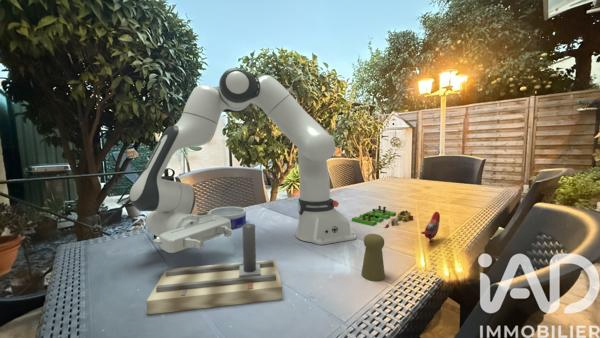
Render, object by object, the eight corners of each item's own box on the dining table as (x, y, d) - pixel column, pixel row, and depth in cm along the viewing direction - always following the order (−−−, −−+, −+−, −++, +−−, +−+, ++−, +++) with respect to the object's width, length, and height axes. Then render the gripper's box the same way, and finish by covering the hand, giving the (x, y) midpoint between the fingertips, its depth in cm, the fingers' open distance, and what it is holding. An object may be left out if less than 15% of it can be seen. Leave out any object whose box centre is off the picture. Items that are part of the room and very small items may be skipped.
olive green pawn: (358, 270, 74) (359, 231, 73) (379, 269, 75) (380, 231, 73) (365, 281, 68) (366, 239, 67) (388, 280, 69) (390, 239, 67)
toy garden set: (376, 212, 136) (376, 203, 135) (415, 219, 123) (415, 209, 122) (351, 222, 119) (351, 212, 119) (393, 232, 106) (393, 220, 106)
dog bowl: (253, 222, 118) (253, 209, 117) (226, 232, 105) (226, 217, 104) (228, 217, 126) (228, 204, 125) (201, 226, 113) (200, 212, 112)
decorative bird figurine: (441, 237, 99) (443, 211, 97) (425, 252, 86) (426, 222, 85) (433, 235, 101) (434, 209, 99) (415, 250, 88) (417, 220, 87)
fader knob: (259, 267, 69) (258, 221, 68) (260, 277, 64) (259, 228, 63) (239, 269, 68) (238, 223, 67) (239, 279, 63) (237, 229, 62)
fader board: (275, 269, 74) (275, 256, 74) (282, 299, 61) (281, 282, 60) (167, 280, 69) (166, 265, 69) (147, 314, 56) (145, 296, 55)
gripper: (148, 229, 70) (180, 239, 63) (212, 211, 87) (243, 217, 80) (150, 252, 71) (181, 265, 64) (213, 230, 88) (244, 238, 81)
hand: (216, 238), depth 72 cm, fingers open, 8 cm apart
